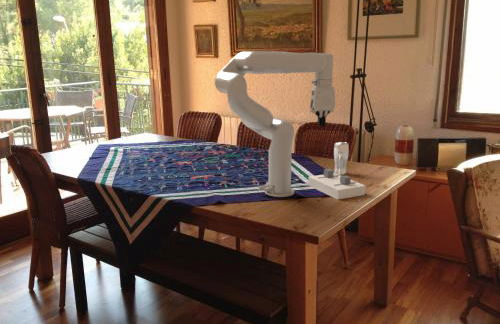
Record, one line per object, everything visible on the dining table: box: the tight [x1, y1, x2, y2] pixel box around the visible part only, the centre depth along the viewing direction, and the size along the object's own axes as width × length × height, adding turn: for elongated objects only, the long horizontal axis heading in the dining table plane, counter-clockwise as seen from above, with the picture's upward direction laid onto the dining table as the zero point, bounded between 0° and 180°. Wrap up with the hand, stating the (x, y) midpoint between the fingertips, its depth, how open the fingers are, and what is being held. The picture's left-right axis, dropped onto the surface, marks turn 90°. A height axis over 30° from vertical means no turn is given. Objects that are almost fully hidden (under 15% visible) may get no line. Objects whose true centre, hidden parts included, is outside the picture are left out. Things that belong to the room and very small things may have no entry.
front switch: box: [340, 174, 352, 185], centre depth 193 cm, size 3×3×3 cm
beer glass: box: [333, 141, 350, 176], centre depth 222 cm, size 7×7×15 cm
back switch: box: [323, 168, 335, 177], centre depth 204 cm, size 3×3×3 cm
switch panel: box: [307, 173, 367, 200], centre depth 198 cm, size 14×22×4 cm, turn 26°
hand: (321, 126), depth 197 cm, fingers closed
